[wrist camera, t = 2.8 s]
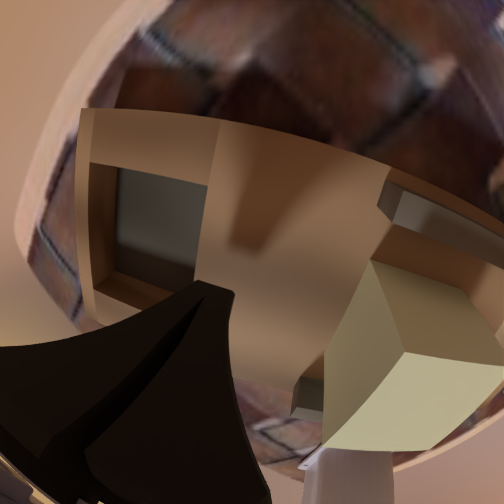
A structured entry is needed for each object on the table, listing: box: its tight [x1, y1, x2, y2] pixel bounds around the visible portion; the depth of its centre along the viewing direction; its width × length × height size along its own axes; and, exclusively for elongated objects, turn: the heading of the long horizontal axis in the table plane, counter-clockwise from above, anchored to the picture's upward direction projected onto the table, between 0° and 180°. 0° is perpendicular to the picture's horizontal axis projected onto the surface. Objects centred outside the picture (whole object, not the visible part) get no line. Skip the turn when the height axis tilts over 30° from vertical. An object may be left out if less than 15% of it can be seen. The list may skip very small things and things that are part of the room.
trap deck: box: [75, 108, 504, 423], centre depth 11 cm, size 12×29×4 cm, turn 78°
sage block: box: [322, 259, 504, 451], centre depth 8 cm, size 5×5×5 cm
